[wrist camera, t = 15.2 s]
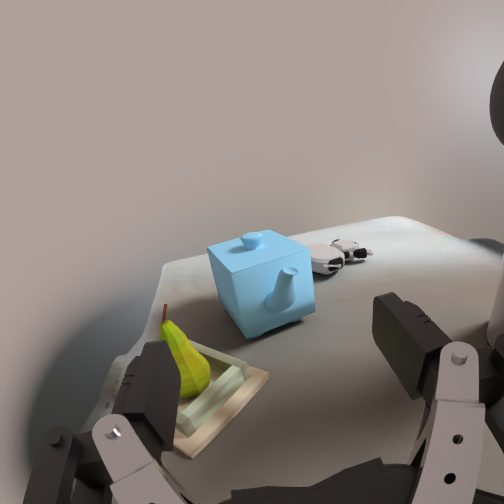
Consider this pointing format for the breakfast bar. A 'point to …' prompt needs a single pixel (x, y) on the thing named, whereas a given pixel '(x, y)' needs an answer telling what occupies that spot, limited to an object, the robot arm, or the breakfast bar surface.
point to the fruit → (185, 359)
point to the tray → (215, 400)
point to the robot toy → (334, 255)
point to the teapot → (263, 280)
